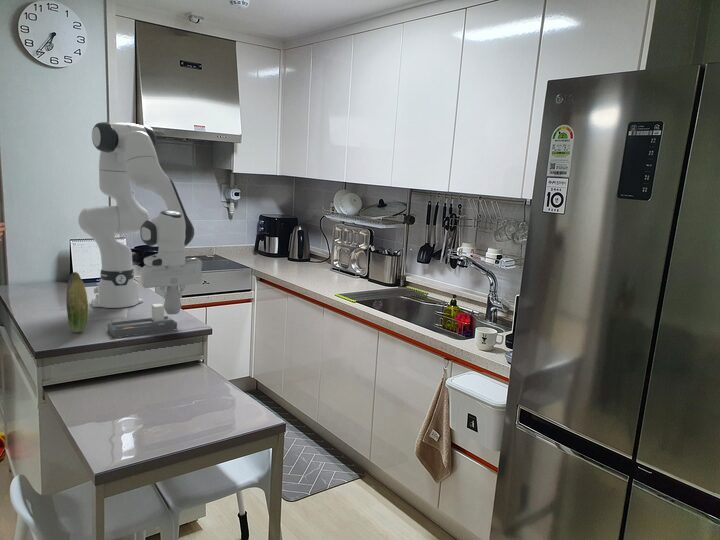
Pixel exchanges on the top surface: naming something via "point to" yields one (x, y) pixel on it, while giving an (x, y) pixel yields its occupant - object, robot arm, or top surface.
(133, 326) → the switch plate
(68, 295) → the vegetable
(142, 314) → the top surface
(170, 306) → the salt shaker
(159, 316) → the slider knob
